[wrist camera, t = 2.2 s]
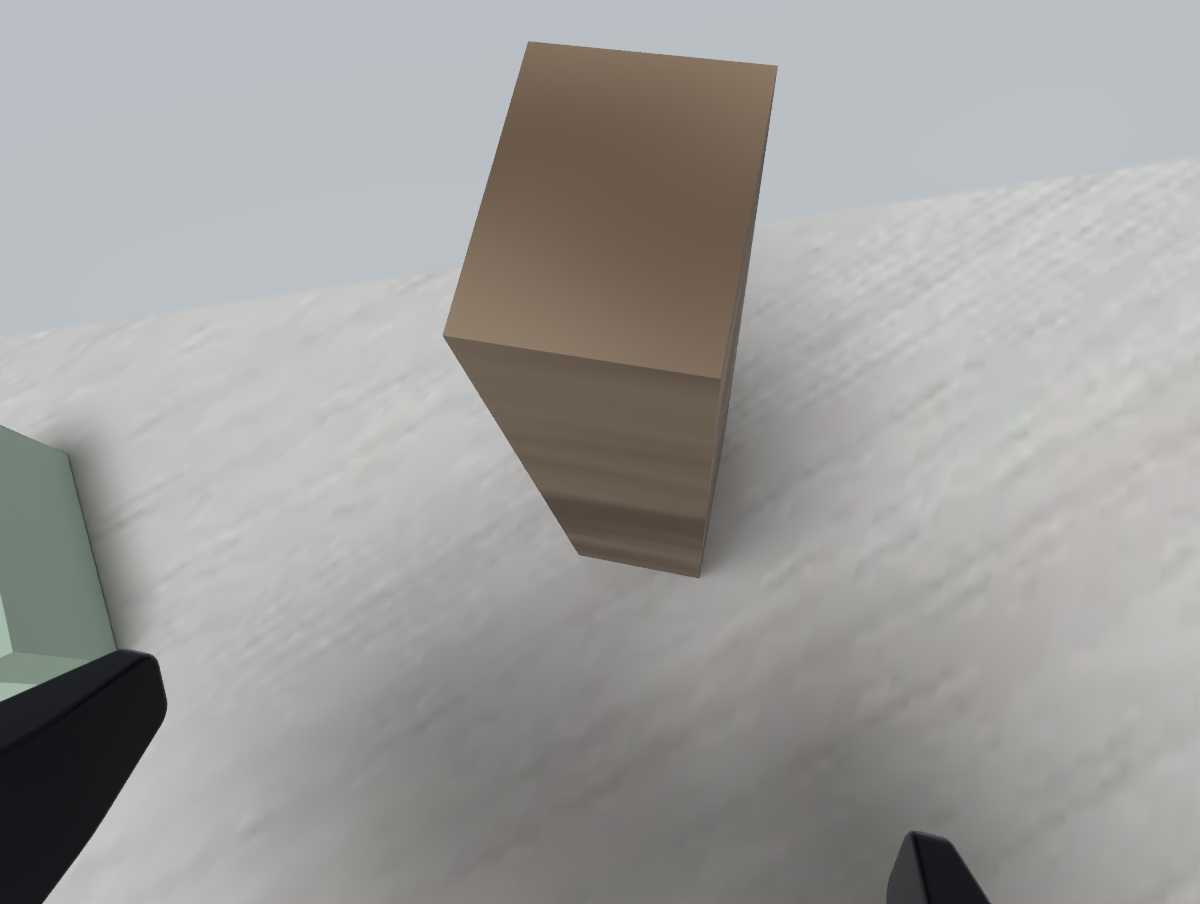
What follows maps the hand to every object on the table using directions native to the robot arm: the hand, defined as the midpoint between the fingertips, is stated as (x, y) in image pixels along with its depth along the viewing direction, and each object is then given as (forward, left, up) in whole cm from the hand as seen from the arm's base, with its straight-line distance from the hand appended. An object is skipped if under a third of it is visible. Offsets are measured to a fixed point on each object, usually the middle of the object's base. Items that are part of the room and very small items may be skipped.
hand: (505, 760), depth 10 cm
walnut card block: (+3, -6, -13) cm, 15 cm away
